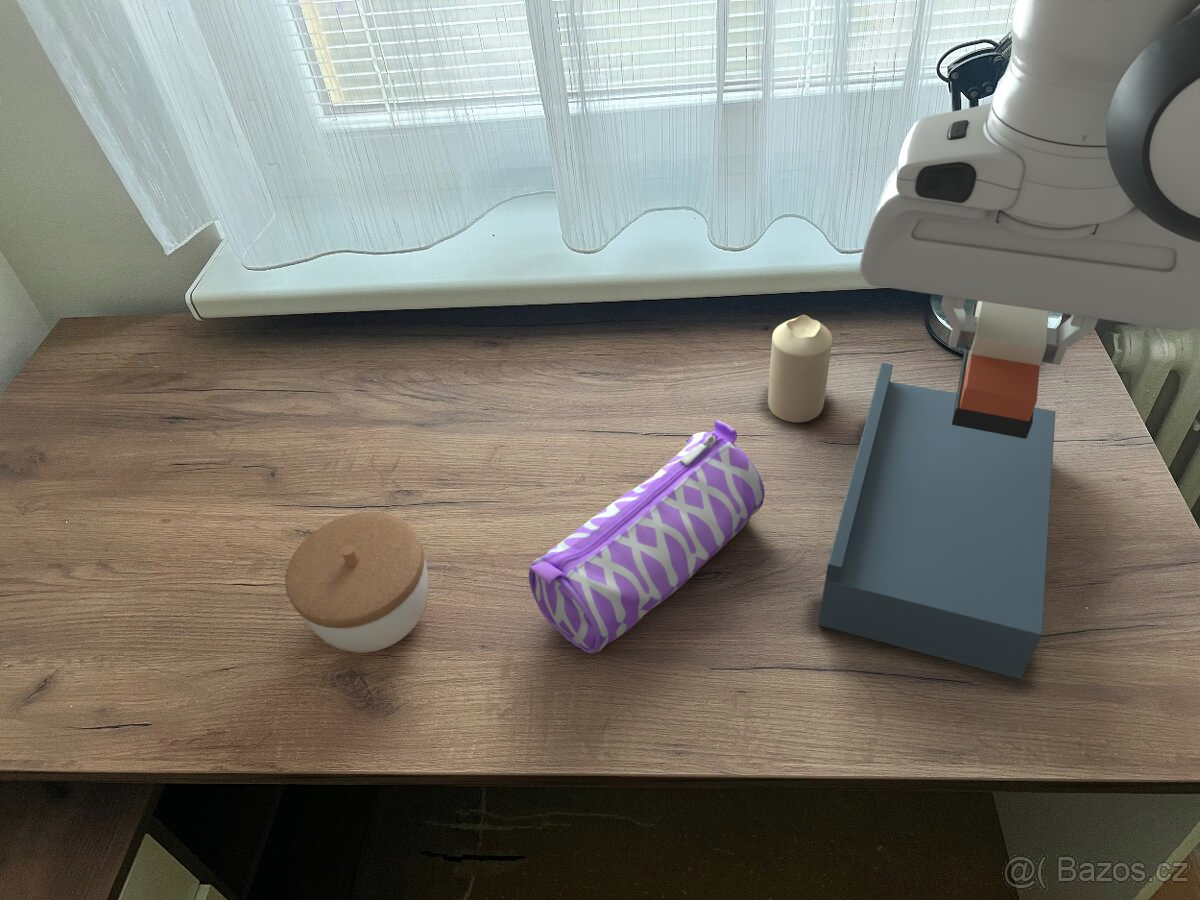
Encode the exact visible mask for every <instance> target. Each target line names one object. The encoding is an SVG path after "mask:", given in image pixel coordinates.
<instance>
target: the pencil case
mask: <svg viewBox="0 0 1200 900" xmlns="http://www.w3.org/2000/svg"><path fill="white" fill-rule="evenodd" d="M737 439H738V432H737V431H736V430H735V429H734V428H733V427H732V426H730V425H729V424H727V423H725V422H723V421H721V420H720V419H715V420H714V428H713V430H712V431H711V432H708V431H702V432H697V433H694V434H693V435H691V436H690V437H689V438H688V439H687V440H686V444H685V447H683V448H682V450H681V451H679V453H677V454H676V455H675V456H674V457H672V458H671V459H670V460H669V461H668V462H667V463H666V464H665V465H663V467H661V468H660V469H659V470H658V471H657V472H655V473H654V474H653V475H652V476H650V477H649V478H647V479H646V480H644V481H643V482H642V483H640V484H639V485H637V486H636V487H635V488H632V489H631V490H629V491H626V493H624V494H623V495H621V496H620V497H619V498H618V499H616V500H615V501H613V502H612V503H610V504H609V505H608V506H606V507H605V508H604V509H602V510H601V511H600V512H598V513H597V514H596V515H594V516H593V517H592V518H590V519H589V520H587V522H585V523H583V524H582V525H581V526H580V527H579V528H578V529H576V530H575V531H574V532H573V533H571V534H570V535H568V536H567V537H566V538H564V539H563V540H562V541H561V542H559V543H558V544H556V545H554V546H553V547H551V548H550V549H549V550H548V551H547V552H546V553H545V554H544V555H542V556H540V557H537V558H536V559H534V561H533V562H532V563H531V564H530V566H529V569H528V582H529V586H530V589H531V593H532V595H533V598H534V600H535V603H536V605H537V607H538V609H539V611H540V612H541V613H542V615H543V616H544V618H545V619H546V620H547V622H548V623H549V624H550V625H551V626H552V627H553V628H554V629H555V630H556V631H558V633H560V634H561V635H562V637H563V638H565V639H566V640H567V641H568V642H569V643H571V644H572V645H574V646H576V647H577V648H579V649H581V650H582V651H583V652H584V653H587V654H588V655H589V654H590V655H594V654H597V653H599V652H601V651H603V649H604V648H605V647H606V646H607V645H608V644H610V643H611V642H614V641H616V639H618V638H619V637H621V636H622V635H624V634H625V633H626V632H628V631H630V629H632V628H633V627H634V626H635V625H636V624H637V623H638V622H639V621H640V620H642V618H643V617H644V616H645V615H646V614H647V613H649V612H650V611H651V610H652V609H653V608H655V607H657V606H658V605H660V604H661V603H663V602H664V601H665V600H667V599H668V598H669V597H670V596H671V595H672V594H674V593H675V592H676V591H677V590H679V588H681V587H683V586H684V584H685V583H687V582H688V581H689V579H691V578H692V577H693V576H694V575H695V574H696V573H697V572H698V570H699V569H701V567H703V566H704V565H705V564H706V563H707V562H708V561H710V560H711V559H712V558H713V557H714V556H715V555H716V554H717V553H718V552H719V551H720V550H721V549H722V548H723V547H724V546H725V545H727V544H728V543H729V542H730V540H731V539H733V538H734V537H735V536H737V534H739V532H740V531H741V530H742V529H743V528H744V526H746V524H747V523H748V522H749V520H750V519H751V517H752V516H754V515H755V514H756V513H757V512H758V511H759V510H760V509H761V508H762V506H763V504H764V500H765V494H766V493H765V492H766V490H765V486H764V482H763V480H762V478H761V476H760V473H759V472H758V469H757V468H756V466H755V465H754V463H753V462H752V461H751V459H750V457H749V456H748V455H747V454H746V452H745V451H743V450H742V449H741V448H740V447H739V446H737V445H735V442H736V441H737Z"/></svg>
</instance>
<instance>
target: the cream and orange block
mask: <svg viewBox="0 0 1200 900" xmlns="http://www.w3.org/2000/svg"><path fill="white" fill-rule="evenodd" d="M1049 314H1050V311H1044V310H1037V309H1030V308H1023V307H1017V306H1010V305H1003V304H996V303H990V302H983V301H977V302H974V303H973V306H972V309H971V313H970V316H975V317H978V318H977V324H976V331H975V335H974V338H973V341H972V346H971V349H970V350H965V349H963V350H964V351H963V357H962V361H961V368H960V373H959V378H958V379H959V380H958V384H957V390H956V393H957V396H956V401H955V407H954V413H953V419H952V425H955V426H961V427H966V428H971V429H976V430H982V431H987V432H992V433H997V434H1003V435H1008V436H1013V437H1018V438H1024V439H1026V438H1027V436H1028V434H1029V431H1030V428H1031V426H1032V423H1033V412H1034V407H1035V408H1036V404H1037V402H1038V394H1039V393H1038V391H1039V380H1040V379H1039V378H1040V370H1041V369H1040V368H1041V364H1042V362H1041V361H1042V358H1043V356H1044V353H1045V350H1046V341H1047V328H1049V327H1048V326H1049Z"/></svg>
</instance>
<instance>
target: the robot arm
mask: <svg viewBox="0 0 1200 900" xmlns="http://www.w3.org/2000/svg"><path fill="white" fill-rule="evenodd" d="M1010 25H1011V26H1010V33H1011V51H1010V58H1009V62H1008V64H1007V67H1006V70H1005V72H1004V73H1003V75H1002V78H1001V79H1000V81H999V83H998V84H997V86H996V88H995V89H994V93H993V96H992V100H991V102H990V103H985V104H981V105H977V106H972V107H967V108H964V109H959V110H953V111H949V112H944V113H939V114H934V115H933V114H932V115H929V116H925V117H921V118H919V119H918V120H916V121H915V122H914V123H913V125H912V126H911V128H910V130H909V131H908V133H907V135H906V137H905V138H904V141H903V143H902V146H901V149H900V152H899V154H898V155H899V157H898V160H897V165H896V167H895V168H894V169H893V170H892V172H891V173H890V175H889V176H888V178H887V179H886V181H885V184H884V186H883V189H882V190H881V194H880V196H879V198H878V202H877V204H876V206H875V210H874V212H873V216H872V218H871V222H870V224H869V227H868V231H867V234H866V238H865V241H864V244H863V248H862V252H861V257H860V260H859V268H858V271H859V273H860V274H861V275H862V277H863V278H864V280H865V281H866V283H868V284H869V285H870V286H874V287H879V288H880V287H881V288H887V289H889V288H890V289H896V290H902V291H908V292H916V293H922V294H930V295H934V296H935V295H937V296H942V298H941V304H940V308H941V311H942V312H943V315H944V317H945V318H946V321H947V323H948V325H949V327H950V329H951V332H950V336H949V341H948V346H947V347H948V348H953V349H959V350H964V349H965V350H970V349H971V346H972V341H973V338H974V335H975V331H976V324H977V318H978V317H975V316H971V314H970V315H969V314H968V315H967V314H966V313H967V312H966V311H965V309H964V307H965V303H966V300H968V301H969V300H970V301H977V302H978V301H983V302H990V303H996V304H1003V305H1010V306H1017V307H1023V308H1030V309H1037V310H1044V311H1049V312H1050V313H1051V312H1052V313H1058V314H1065V315H1070V318H1068V319H1067V320H1066V321H1064V322H1063V323H1062V324H1061V325H1060V326H1058V327H1057V328H1056V327H1055V328H1054V327H1048V328H1047V341H1046V350H1045V353H1044V356H1043V358H1042V361H1041V363H1046V364H1050V365H1056V366H1060V365H1061V364H1062V361H1063V359H1064V356H1065V353H1066V352H1067V349H1068V348H1070V347H1071V346H1073V345H1075V344H1076V343H1077V342H1078V341H1080V340H1082V339H1083V338H1084V337H1086V336H1087V335H1089V334H1091V333H1092V332H1093V331H1095V329H1096V327H1097V324H1098V321H1099V320H1105V321H1106V320H1107V321H1112V322H1121V323H1126V324H1132V325H1133V324H1134V325H1140V326H1147V327H1154V328H1161V329H1167V330H1173V331H1182V332H1183V331H1185V332H1186V331H1189V330H1191V329H1193V328H1195V327H1196V326H1198V325H1200V0H1016V1H1015V4H1014V8H1013V12H1012V17H1011V24H1010Z"/></svg>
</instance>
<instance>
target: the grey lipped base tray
mask: <svg viewBox="0 0 1200 900" xmlns="http://www.w3.org/2000/svg"><path fill="white" fill-rule="evenodd" d="M893 368H894V364H892V363H886V362H881V364H880V368H879V372H878V375H877V379H876V383H875V386H874V389H873V390H874V391H873V394H872V398H871V401H870V404H869V405H870V406H869V408H868V409H869V410H868V412H867V417H866V421H865V424H864V428H863V432H862V435H861V439H860V443H859V447H858V450H857V454H856V457H855V461H854V466H853V470H852V473H851V476H850V481H849V484H848V488H847V492H846V495H845V499H844V502H843V507H842V509H841V514H840V517H839V522H838V526H837V529H836V533H835V536H834V540H833V544H832V547H831V551H830V555H829V559H828V562H827V563H828V564H827V569H826V574H825V580H824V587H823V591H822V592H823V593H822V598H821V604H820V610H819V616H818V622H817V625H818V626H821V627H825V628H827V629H832V630H836V631H838V632H839V631H840V632H844V633H846V634H850V635H855V636H858V637H862V638H865V639H869V640H873V641H876V642H880V643H883V644H887V645H890V646H894V647H899V648H903V649H906V650H910V651H913V652H917V653H921V654H924V655H928V656H932V657H936V658H940V659H943V660H947V661H950V662H954V663H956V664H957V663H958V664H960V665H961V664H962V665H965V666H968V667H971V668H976V669H979V670H984V671H987V672H991V673H994V674H998V675H1002V676H1005V677H1010V678H1013V679H1017V680H1021V679H1022V677H1023V674H1024V672H1025V671H1026V669H1027V667H1028V664H1029V662H1030V660H1031V659H1032V656H1033V654H1034V652H1035V650H1036V648H1037V646H1038V645H1039V642H1040V640H1041V638H1042V637H1043V627H1044V611H1045V595H1046V594H1045V593H1046V592H1045V591H1046V578H1047V577H1046V575H1047V562H1048V561H1047V559H1048V541H1049V527H1050V526H1049V525H1050V509H1051V492H1052V479H1053V477H1052V475H1053V460H1054V459H1053V458H1054V444H1055V443H1054V442H1055V426H1056V425H1055V424H1056V411H1055V410H1052V409H1046V408H1040V407H1036V406H1035V407H1034V412H1033V423H1032V426H1031V428H1030V431H1029V434H1028V436H1027V438H1026V439H1024V438H1018V437H1013V436H1008V435H1003V434H997V433H992V432H987V431H982V430H976V429H971V428H966V427H961V426H955V425H952V419H953V413H954V407H955V401H956V396H957V392H952V391H951V392H950V391H946V390H939V389H933V388H928V387H922V386H918V385H911V384H905V383H901V382H895V381H891V377H892V372H893Z"/></svg>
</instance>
